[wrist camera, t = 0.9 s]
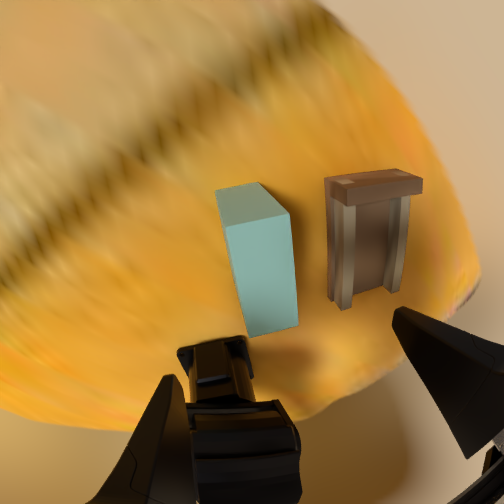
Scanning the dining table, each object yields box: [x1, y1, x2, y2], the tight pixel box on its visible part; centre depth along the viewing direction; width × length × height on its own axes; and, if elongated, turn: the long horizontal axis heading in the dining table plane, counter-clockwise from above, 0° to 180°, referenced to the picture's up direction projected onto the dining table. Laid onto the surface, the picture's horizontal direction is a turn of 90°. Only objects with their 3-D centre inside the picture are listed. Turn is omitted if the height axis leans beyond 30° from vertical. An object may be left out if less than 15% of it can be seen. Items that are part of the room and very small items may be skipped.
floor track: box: [324, 169, 423, 311], centre depth 21 cm, size 11×7×3 cm, turn 9°
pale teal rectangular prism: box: [215, 182, 298, 338], centre depth 17 cm, size 7×3×7 cm, turn 9°
